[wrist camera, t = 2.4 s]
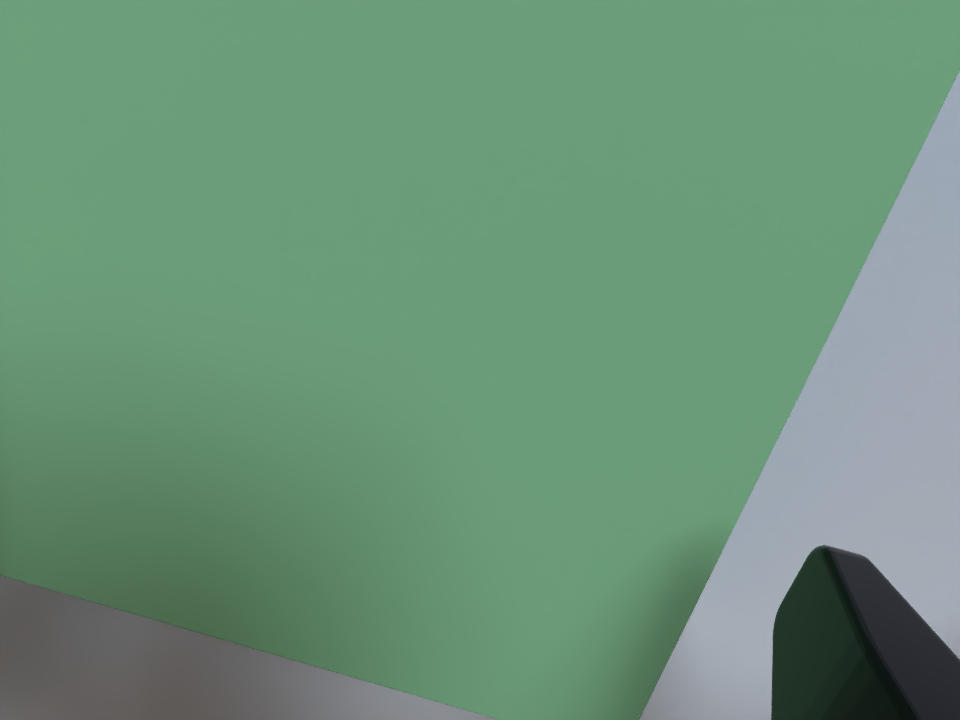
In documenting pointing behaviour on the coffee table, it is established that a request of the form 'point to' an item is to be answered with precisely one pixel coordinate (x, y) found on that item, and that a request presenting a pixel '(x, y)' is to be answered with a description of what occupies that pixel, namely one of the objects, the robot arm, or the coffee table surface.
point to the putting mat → (429, 312)
